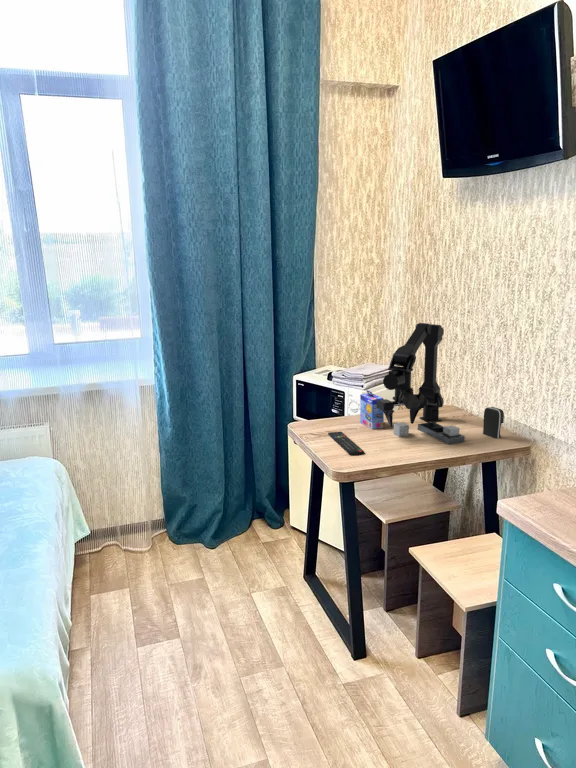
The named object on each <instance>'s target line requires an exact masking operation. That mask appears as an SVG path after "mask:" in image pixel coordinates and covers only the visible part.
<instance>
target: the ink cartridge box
mask: <svg viewBox="0 0 576 768" xmlns="http://www.w3.org/2000/svg"><path fill="white" fill-rule="evenodd" d="M359 397H360V401H359V402H360V405H359V407H360V409H359V410H360V414H359V417H360V418H359V419H360V421H359V423H360V424H361V425H364V426H366V427H367V428H368V429H371V430H376V429H377V430H378V429H383V428H384V420H385V419H384V417H385V416H384V415H385V414H384V412H383V410H381V409H379V408H377V402H378V400H384V398H383V397H382V396H379V395H376V394H374V393H373V392H372V391H370V390H368V389H366V393H362V394H360V395H359Z"/></svg>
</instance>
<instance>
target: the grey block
mask: <svg viewBox="0 0 576 768" xmlns="http://www.w3.org/2000/svg"><path fill="white" fill-rule="evenodd" d="M409 429H410V425H409V424H408V423H405V422H403V421H402V422H396V423H393V435H394V436H397V437H398V438H403V437H408V436H409Z"/></svg>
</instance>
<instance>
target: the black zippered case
mask: <svg viewBox="0 0 576 768" xmlns="http://www.w3.org/2000/svg"><path fill="white" fill-rule="evenodd" d="M504 419H505V412H504V410H503V409H502V408H498V407H494V406H487V407H486V408H484V412H483V424H482V425H483V427H482V434H483V435H485V436H487V437H491V438H493V439H500V438H501V437H502V436H501V426H502V424H504V421H505V420H504Z"/></svg>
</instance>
